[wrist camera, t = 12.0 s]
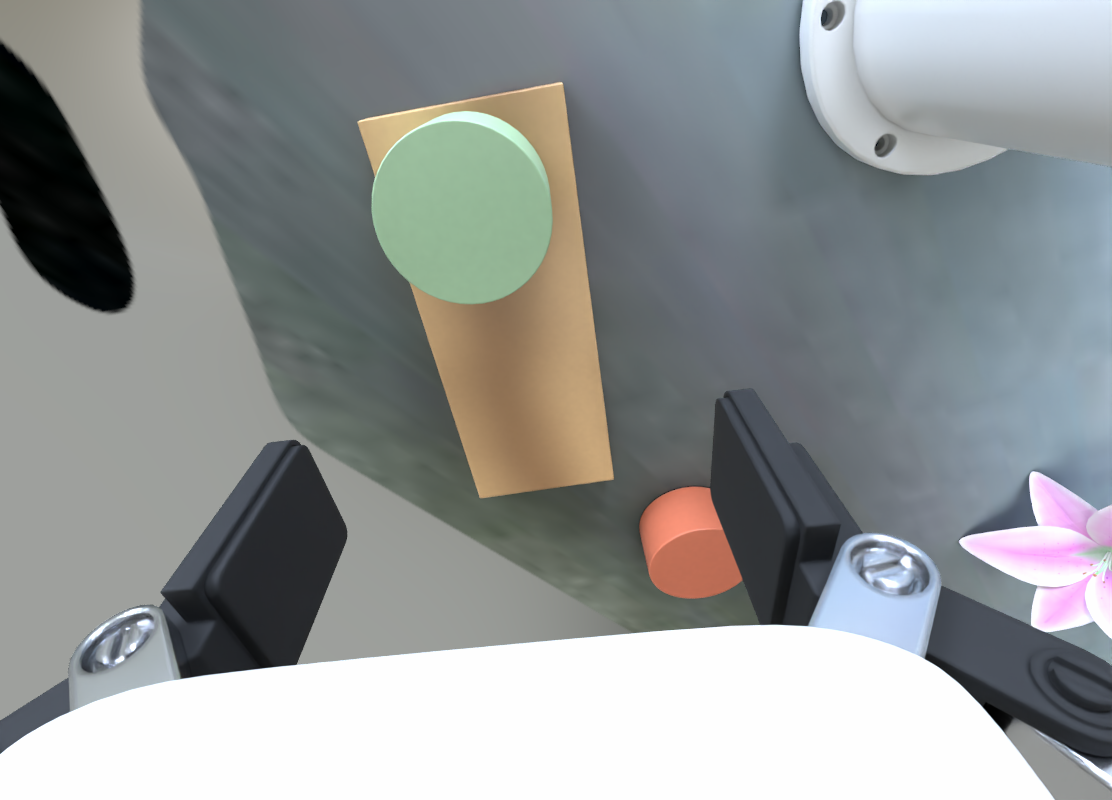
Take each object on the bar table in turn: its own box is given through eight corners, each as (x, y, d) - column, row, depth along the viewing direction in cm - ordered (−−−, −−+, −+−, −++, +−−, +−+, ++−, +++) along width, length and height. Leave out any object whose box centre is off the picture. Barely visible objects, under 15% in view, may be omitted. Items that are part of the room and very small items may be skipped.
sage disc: (538, 99, 20) (538, 105, 17) (559, 263, 23) (563, 293, 20) (373, 124, 20) (344, 134, 17) (418, 282, 23) (401, 315, 20)
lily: (1133, 400, 31) (1207, 498, 24) (1259, 538, 32) (1368, 675, 25) (929, 478, 39) (940, 569, 32) (1032, 588, 40) (1064, 702, 33)
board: (561, 81, 21) (562, 82, 19) (610, 463, 31) (614, 479, 30) (367, 118, 21) (356, 121, 20) (482, 481, 32) (480, 498, 31)
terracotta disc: (736, 479, 32) (757, 521, 29) (733, 547, 36) (752, 592, 33) (635, 493, 33) (645, 537, 30) (642, 559, 36) (651, 604, 33)
